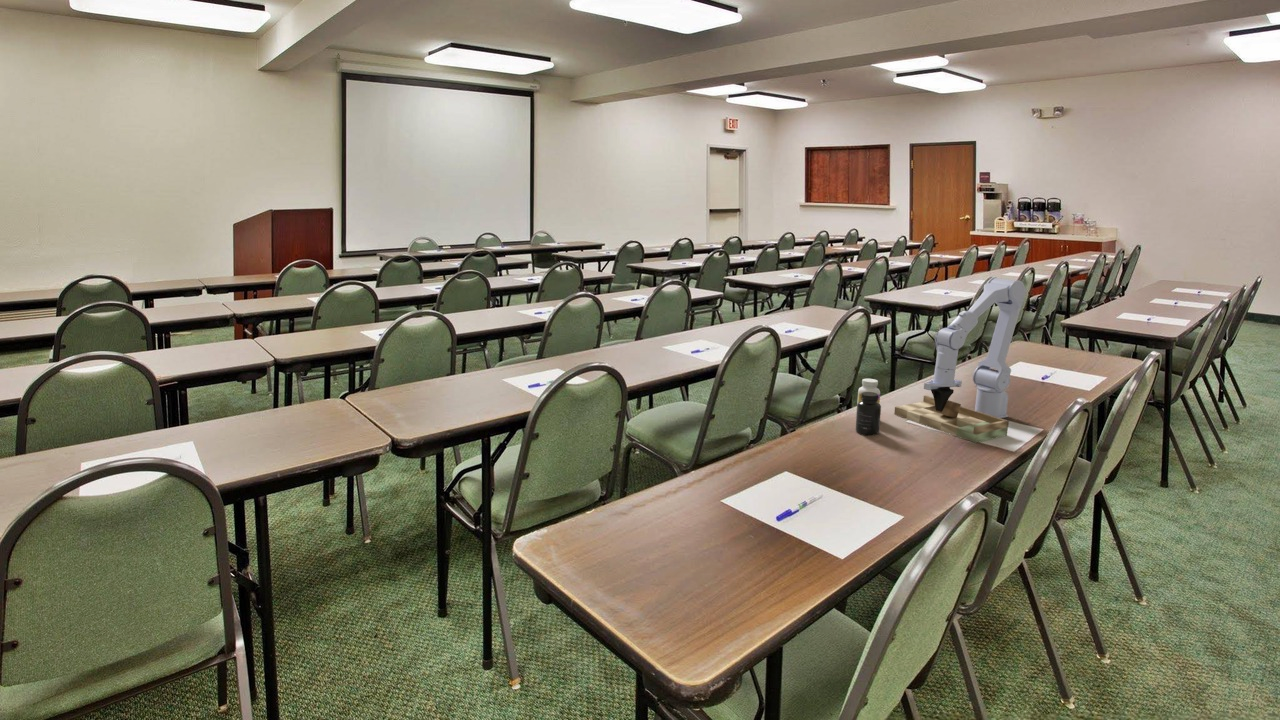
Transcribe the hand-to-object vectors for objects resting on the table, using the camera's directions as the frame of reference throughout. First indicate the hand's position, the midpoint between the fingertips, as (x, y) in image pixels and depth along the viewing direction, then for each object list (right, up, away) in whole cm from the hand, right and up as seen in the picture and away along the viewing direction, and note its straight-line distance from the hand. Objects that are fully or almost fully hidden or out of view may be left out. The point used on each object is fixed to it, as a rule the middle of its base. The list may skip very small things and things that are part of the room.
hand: (939, 410), depth 218 cm
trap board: (+3, -4, +1) cm, 6 cm away
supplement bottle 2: (-24, -6, -6) cm, 26 cm away
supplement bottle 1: (-20, -3, +6) cm, 22 cm away
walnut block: (+2, -1, 0) cm, 3 cm away
